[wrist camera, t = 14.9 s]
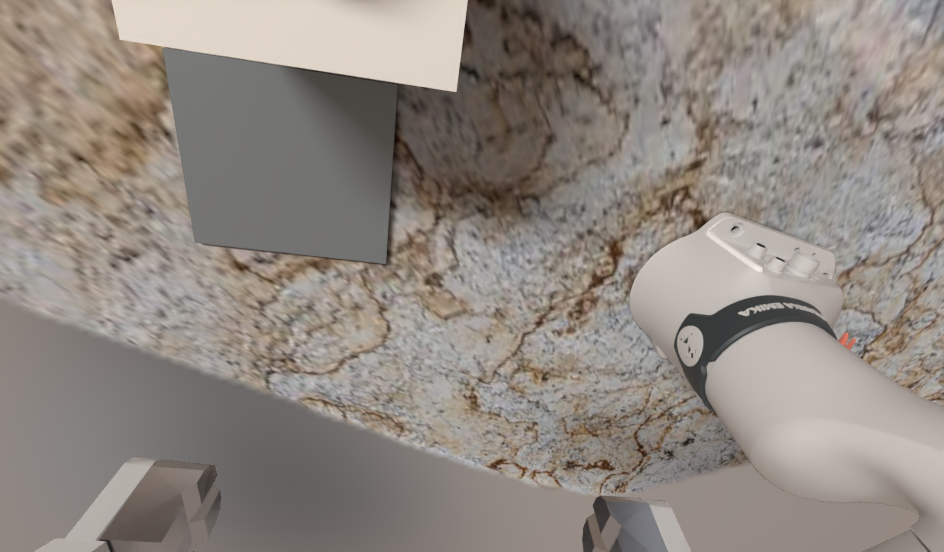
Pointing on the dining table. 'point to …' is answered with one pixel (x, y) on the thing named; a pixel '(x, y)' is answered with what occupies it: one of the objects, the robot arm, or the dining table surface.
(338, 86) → the mat
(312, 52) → the cube with grey knob
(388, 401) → the dining table surface
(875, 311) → the dining table surface
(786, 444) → the robot arm
